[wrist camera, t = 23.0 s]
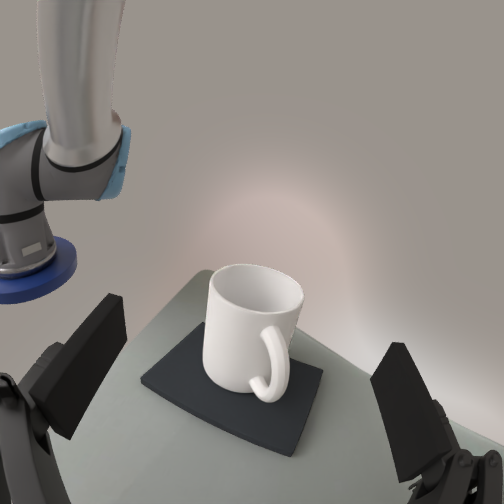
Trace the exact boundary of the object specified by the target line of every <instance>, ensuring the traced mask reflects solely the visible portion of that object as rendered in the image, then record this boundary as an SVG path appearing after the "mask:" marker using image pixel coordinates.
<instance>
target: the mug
mask: <svg viewBox="0 0 504 504" xmlns="http://www.w3.org/2000/svg"><path fill="white" fill-rule="evenodd" d="M303 302H304V292H303V289H302V287H301V286H300V285H299V284H298V283H297V282H296V281H295V280H294V279H293V278H291V277H290V276H288V275H286V274H284V273H282V272H280V271H278V270H275V269H272V268H269V267H264V266H260V265H253V264H234V265H229V266H225V267H222V268H220V269H218V270H217V271H215V272H214V273H213V275H212V277H211V279H210V285H209V294H208V303H207V313H206V323H205V334H204V345H203V365H204V369H205V371H206V373H207V375H208V376H209V377H210V378H211V379H212V380H213V381H214V382H215V383H216V384H217V385H219V386H221V387H222V388H225V389H227V390H230V391H233V392H238V393H253V392H254V393H255V394H256V396H257V397H258V398H259V399H260V400H262V401H264V402H275V401H277V400H278V399H280V397H281V396H282V395H283V394H284V392H285V390H286V388H287V385H288V380H289V372H290V362H289V354H288V347H289V345H290V342H291V339H292V336H293V333H294V330H295V327H296V324H297V320H298V317H299V314H300V311H301V308H302V305H303ZM268 386H269V387H268Z"/></svg>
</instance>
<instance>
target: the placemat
mask: <svg viewBox="0 0 504 504" xmlns="http://www.w3.org/2000/svg"><path fill="white" fill-rule="evenodd" d="M204 334H205V323H204V322H202V323H201V324H200V325H198V326H197V327H196V328H195V329H194V330H193V331H192V332H191V333H190V334H189V335H187V336H186V337H185V338H184V339H183V340H182V341H181V342H180V343H179V344H178V345H176V346H175V347H174V348H173V349H172V350H171V351H170V352H169V353H167V354H166V355H165V356H164V357H163V358H162V359H161V360H160V361H159V362H157V363H156V364H155V365H154V366H153V367H152V368H151V369H150V370H148V371H147V372H146V373H145V374H144V375H143V376H142V377H141V378H140V379H141V383H142V384H143V385H145V386H146V387H148V388H149V389H151V390H152V391H154V392H155V393H157V394H159V395H160V396H162V397H163V398H165V399H167V400H168V401H170V402H172V403H173V404H175V405H177V406H178V407H180V408H182V409H184V410H186V411H187V412H189V413H191V414H193V415H195V416H196V417H198V418H200V419H202V420H204V421H206V422H208V423H210V424H212V425H214V426H216V427H218V428H220V429H222V430H224V431H226V432H229V433H231V434H233V435H235V436H237V437H240V438H242V439H244V440H247V441H249V442H251V443H254V444H256V445H259V446H261V447H264V448H266V449H269V450H272V451H274V452H277V453H280V454H283V455H286V456H288V457H291V455H292V454H293V453H294V450H295V448H296V445H297V443H298V440H299V438H300V435H301V433H302V430H303V428H304V425H305V422H306V420H307V417H308V414H309V412H310V409H311V406H312V403H313V400H314V397H315V394H316V391H317V388H318V385H319V382H320V379H321V376H322V373H323V370H322V369H319V368H316V367H313V366H310V365H307V364H305V363H302V362H299V361H296V360H293V359H291V358H289V362H290V372H289V380H288V385H287V388H286V390H285V392H284V394H283V395H282V396H281V397H280V399H278V400H277V401H275V402H264V401H262V400H260V399H259V398H258V397H257V396H256V394H255V393H254V392H253V393H238V392H233V391H230V390H227V389H225V388H222V387H221V386H219V385H217V384H216V383H215V382H214V381H213V380H212V379H211V378H210V377H209V376H208V375H207V373H206V371H205V369H204V365H203V345H204ZM268 387H269V386H268Z"/></svg>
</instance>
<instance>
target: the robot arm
mask: <svg viewBox="0 0 504 504" xmlns="http://www.w3.org/2000/svg"><path fill="white" fill-rule="evenodd" d="M124 5H125V0H37V45H38V59H39V68H40V78H41V85H42V91H43V98H44V103H45V109H46V114H47V119H48V124H49V125H48V127H47V124H46V121H44V120H38V121H31V122H27V123H21V124H17V125H14V126H10V127H7V128H4V129H1V130H0V279H4V280H13V279H20V278H24V277H28V276H31V275H34V274H36V273H38V272H40V271H42V270H44V269H45V268H47V267H48V266H49V265H51V264H52V263H53V261H54V260H55V259H56V257H57V248H56V241H55V239H54V237H53V234H52V232H51V229H50V227H49V224H48V222H47V219H46V216H45V213H44V201H53V200H91V199H92V200H93V199H94V200H96V201H100V200H101V199H112V198H115V197H117V196H118V195H119V194H120V192H121V189H122V185H123V181H124V176H125V167H126V163H127V159H128V153H129V146H130V139H131V129H130V128H129V127H125V126H123V125H121V120H120V118H119V116H118V114H117V113H116V112H115V111H114V110H113V109H112V108H111V106H112V89H113V76H114V67H115V57H116V50H117V43H118V37H119V30H120V24H121V19H122V14H123V10H124ZM126 341H127V334H126V326H125V318H124V309H123V298H122V297H121V296H117V295H114V294H110V293H109V294H108V295H107V296H106V297H105V298H104V299H103V300H102V301H101V302H100V303H99V305H98V306H97V307H96V308H95V309H94V310H93V311H92V313H91V314H90V315H89V316H88V317H87V318H86V319H85V321H84V322H83V323H82V324H81V325H80V326H79V328H78V329H77V330H76V331H75V332H74V333H73V335H72V336H71V337H70V338H69V340H68V341H67V342H66V343H65V344H64V345H63V344H61V343H59V342H56V343H54V344H52V345H51V346H49V347H48V348H47V349H46V350H45V351H44V352H43V354H42V355H41V357H39V358H38V360H37V361H36V363H35V364H34V365H33V366H32V367H31V368H30V370H29V371H28V372H27V374H26V375H25V376H24V377H23V379H22V380H21V381H20V383H19V384H18V385H16V383H15V381H14V380H13V378H12V377H11V376H10V375H8V374H7V373H0V504H11V499H12V503H13V504H71V502H70V500H69V497H68V495H67V492H66V490H65V487H64V484H63V481H62V479H61V476H60V473H59V469H58V466H57V463H56V460H55V456H54V453H53V449H52V445H51V441H50V437H49V433H48V431H47V430H48V428H49V426H51V428H52V429H53V430H54V432H55V433H57V434H59V435H61V436H63V437H64V438H66V439H68V440H71V438H72V436H73V434H74V432H75V430H76V428H77V426H78V424H79V422H80V421H81V419H82V417H83V415H84V413H85V411H86V410H87V408H88V406H89V404H90V402H91V401H92V399H93V397H94V395H95V393H96V392H97V390H98V388H99V386H100V385H101V383H102V381H103V380H104V378H105V376H106V374H107V373H108V371H109V369H110V368H111V366H112V364H113V363H114V361H115V359H116V358H117V356H118V354H119V353H120V351H121V350H122V348H123V346H124V345H125V343H126ZM370 381H371V384H372V387H373V390H374V393H375V396H376V399H377V403H378V406H379V409H380V412H381V416H382V419H383V423H384V426H385V430H386V433H387V437H388V440H389V444H390V448H391V452H392V456H393V459H394V463H395V468H396V472H397V476H398V480H399V483H401V482H405V481H409V480H413V479H414V478H416V477H417V476H419V475H420V474H421V475H422V478H421V479H420V480H418V481H417V482H415V483H414V484H412V485H411V486H410V487H409V488H408V489H409V490H410V489H412V488H413V487H415V486H416V488H415V489H414V490H412V491H413V494H412V496H411V498H410V500H409V502H408V503H407V504H502V485H503V470H502V458H501V456H500V454H499V453H498V452H497V451H495V450H490V451H489V452H487V453H486V454H485V455H484V456H473V455H472V454H471V452H469V451H468V450H465V449H460V447H459V445H458V442H457V439H456V437H455V435H454V432H453V430H452V427H451V425H450V424H449V420H448V418H447V417H446V414H445V412H444V409H443V407H442V406H441V405H440V404H439V402H438V401H437V400H432V398H431V396H430V394H429V392H428V389H427V387H426V385H425V383H424V381H423V379H422V377H421V375H420V373H419V371H418V369H417V367H416V365H415V363H414V361H413V359H412V357H411V355H410V353H409V351H408V350H407V348H406V346H405V344H404V343H398V342H392V344H391V345H390V347H389V349H388V350H387V352H386V354H385V356H384V357H383V359H382V361H381V362H380V364H379V366H378V367H377V369H376V371H375V372H374V374H373V375H372V377H371V378H370ZM476 486H477V491H476V492H475V493H473V494H472V489H473V488H475V487H476Z"/></svg>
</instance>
